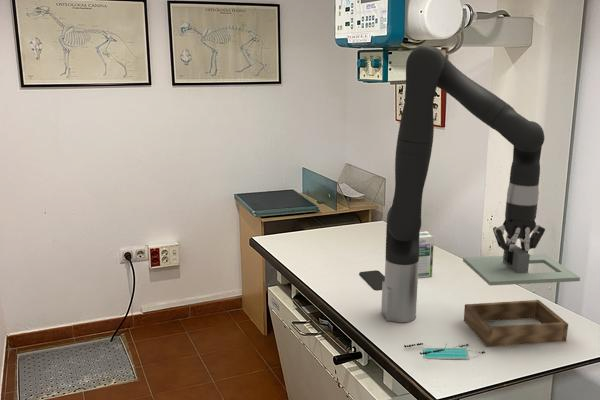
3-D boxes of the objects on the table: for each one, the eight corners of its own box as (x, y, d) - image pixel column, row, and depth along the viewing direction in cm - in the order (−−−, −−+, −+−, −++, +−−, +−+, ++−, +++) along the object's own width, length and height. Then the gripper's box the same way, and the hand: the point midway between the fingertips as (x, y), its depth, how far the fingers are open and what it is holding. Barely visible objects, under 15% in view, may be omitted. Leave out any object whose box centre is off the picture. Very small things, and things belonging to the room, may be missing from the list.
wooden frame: (486, 346, 153) (488, 329, 152) (463, 320, 168) (464, 304, 166) (566, 341, 156) (568, 323, 155) (536, 315, 171) (538, 299, 169)
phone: (374, 289, 188) (357, 272, 202) (374, 292, 188) (357, 274, 202) (396, 287, 190) (378, 269, 204) (396, 289, 190) (378, 272, 204)
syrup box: (416, 278, 197) (418, 237, 194) (409, 272, 203) (411, 231, 199) (432, 276, 199) (434, 235, 195) (424, 270, 204) (426, 230, 201)
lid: (489, 285, 148) (491, 262, 146) (462, 261, 164) (464, 240, 162) (579, 281, 151) (582, 258, 149) (544, 257, 167) (547, 237, 166)
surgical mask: (417, 355, 142) (398, 335, 151) (416, 371, 143) (398, 351, 152) (491, 342, 148) (469, 324, 157) (490, 358, 149) (468, 339, 158)
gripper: (540, 195, 157) (533, 257, 161) (489, 197, 155) (483, 259, 159) (555, 203, 150) (547, 267, 154) (502, 205, 148) (496, 270, 152)
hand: (515, 263), depth 157 cm, fingers closed on lid, 3 cm apart
